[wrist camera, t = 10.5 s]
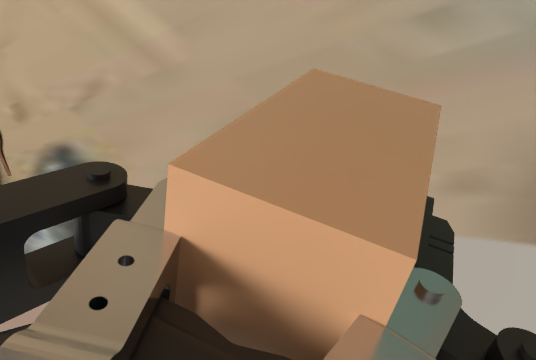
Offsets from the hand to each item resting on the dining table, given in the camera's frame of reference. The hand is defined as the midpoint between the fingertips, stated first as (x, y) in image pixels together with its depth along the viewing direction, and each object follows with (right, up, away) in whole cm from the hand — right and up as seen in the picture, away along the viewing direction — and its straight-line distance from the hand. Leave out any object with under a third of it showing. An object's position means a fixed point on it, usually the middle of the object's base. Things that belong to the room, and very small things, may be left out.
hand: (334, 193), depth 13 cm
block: (+1, +1, +2) cm, 2 cm away
